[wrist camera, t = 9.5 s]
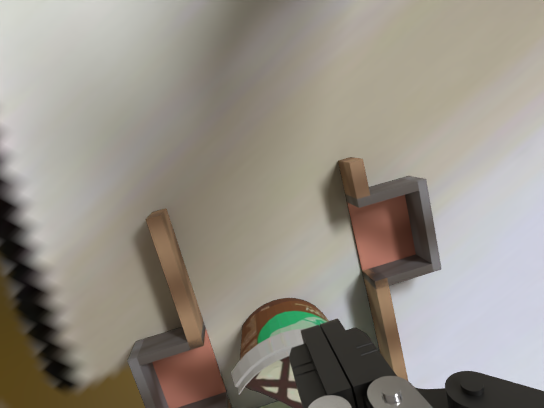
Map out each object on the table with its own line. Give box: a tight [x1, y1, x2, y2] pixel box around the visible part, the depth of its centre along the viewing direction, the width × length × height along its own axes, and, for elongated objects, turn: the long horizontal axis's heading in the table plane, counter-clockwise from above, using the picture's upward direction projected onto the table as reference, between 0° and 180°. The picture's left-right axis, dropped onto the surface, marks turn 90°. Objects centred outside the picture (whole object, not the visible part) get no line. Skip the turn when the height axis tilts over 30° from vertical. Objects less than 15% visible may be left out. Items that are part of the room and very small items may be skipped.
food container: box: [231, 298, 328, 408], centre depth 30 cm, size 12×6×10 cm, turn 60°
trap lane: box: [128, 157, 441, 408], centre depth 32 cm, size 23×29×5 cm
